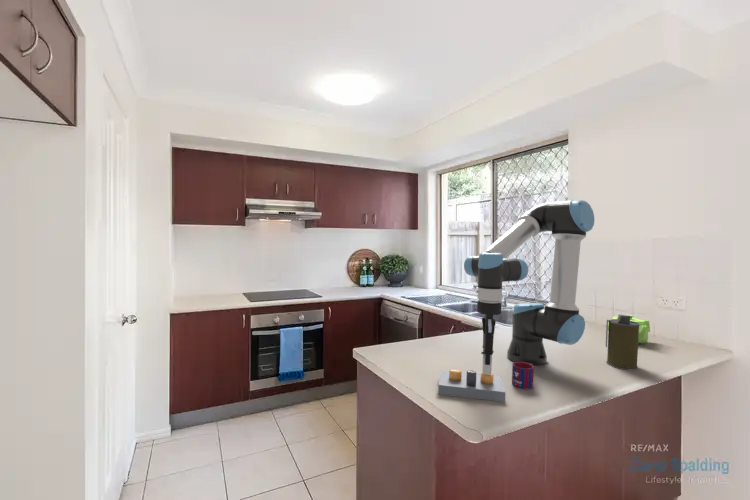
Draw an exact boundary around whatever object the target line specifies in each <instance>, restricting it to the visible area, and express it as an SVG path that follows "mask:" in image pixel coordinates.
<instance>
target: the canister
mask: <svg viewBox="0 0 750 500" xmlns="http://www.w3.org/2000/svg"><path fill="white" fill-rule="evenodd" d="M629 315H630V314H618V316H617V317H618V318H617V319H613V318H612V319H611V318H610V320H609V319H606V331H605V347H606V348H607V355H606V356H607V358H606V362H605V363H606V364H607V365H608V366H610V365H611V367H613V366H614V367H613V368H616V367H617V369H620V368H622V370H627V369H635V370H637V369H638V368H639V367H638V352H639V343H638V336H639V326H640V324H639V323H637V322H633V321H630V318H632V317H631V316H629ZM608 322H609V331H608Z"/></svg>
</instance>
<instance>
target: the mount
mask: <svg viewBox="0 0 750 500" xmlns="http://www.w3.org/2000/svg"><path fill="white" fill-rule="evenodd" d="M480 378H481V373H480V374H478V373H476V386H474V387H471V386H468V385H466V379H467V372H462V378H461V381H452V380H450V379H449V370H440V373H439V382H438V395H441V396H451V397H458V398H459V397H460V398H469V399H475V400H476V399H477V400H484V401H485V400H486V401H494V402H495V401H496V402H502V403H505V402H506V390H505V385H504V383H503V379H502V377H501V376H499V375H494V376H493V384H490V385H488V384H483V383H481V382H480Z"/></svg>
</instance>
